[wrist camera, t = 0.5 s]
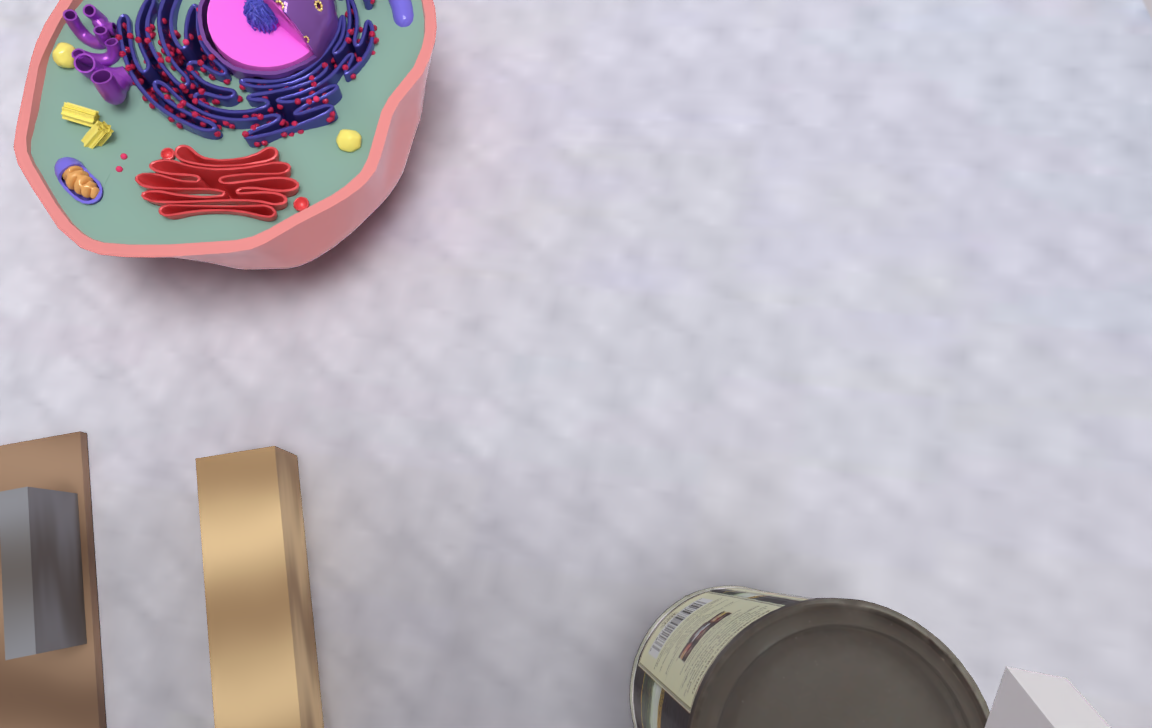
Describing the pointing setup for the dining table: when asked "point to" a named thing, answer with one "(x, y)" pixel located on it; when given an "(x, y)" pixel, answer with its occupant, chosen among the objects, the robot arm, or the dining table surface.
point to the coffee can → (796, 667)
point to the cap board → (48, 587)
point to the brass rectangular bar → (258, 591)
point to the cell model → (222, 123)
